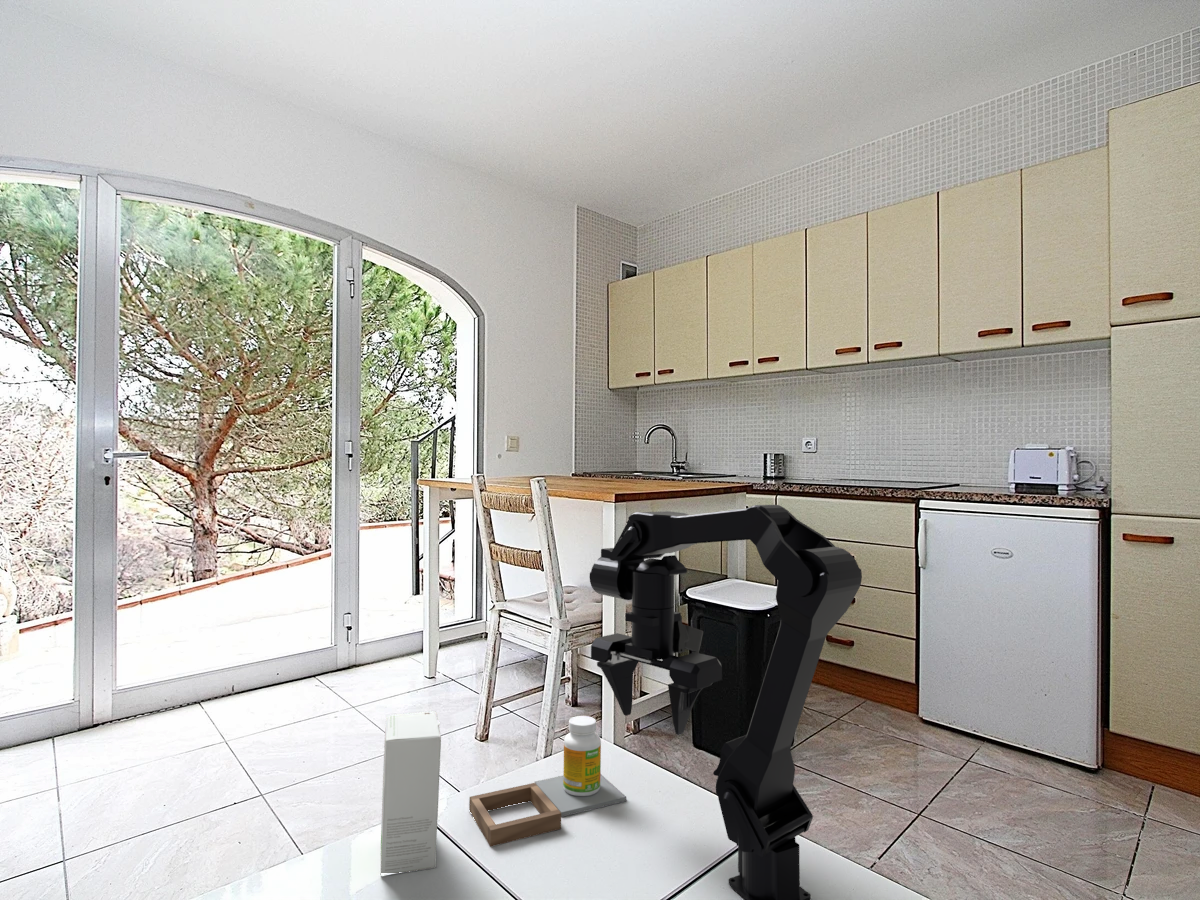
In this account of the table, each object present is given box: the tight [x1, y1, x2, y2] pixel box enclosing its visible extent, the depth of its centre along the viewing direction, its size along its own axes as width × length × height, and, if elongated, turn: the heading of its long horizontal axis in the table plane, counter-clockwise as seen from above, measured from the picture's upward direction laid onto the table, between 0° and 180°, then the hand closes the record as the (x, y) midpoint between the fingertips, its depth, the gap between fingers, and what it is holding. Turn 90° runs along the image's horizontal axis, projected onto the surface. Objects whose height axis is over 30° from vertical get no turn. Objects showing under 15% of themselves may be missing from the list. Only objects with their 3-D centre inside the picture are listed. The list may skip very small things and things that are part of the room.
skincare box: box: [380, 710, 442, 874], centre depth 79 cm, size 8×7×16 cm
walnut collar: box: [468, 782, 562, 848], centre depth 87 cm, size 10×10×2 cm
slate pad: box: [534, 774, 627, 818], centre depth 95 cm, size 10×10×1 cm
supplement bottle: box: [562, 715, 602, 796], centre depth 95 cm, size 5×5×10 cm
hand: (652, 724), depth 87 cm, fingers open, 9 cm apart
